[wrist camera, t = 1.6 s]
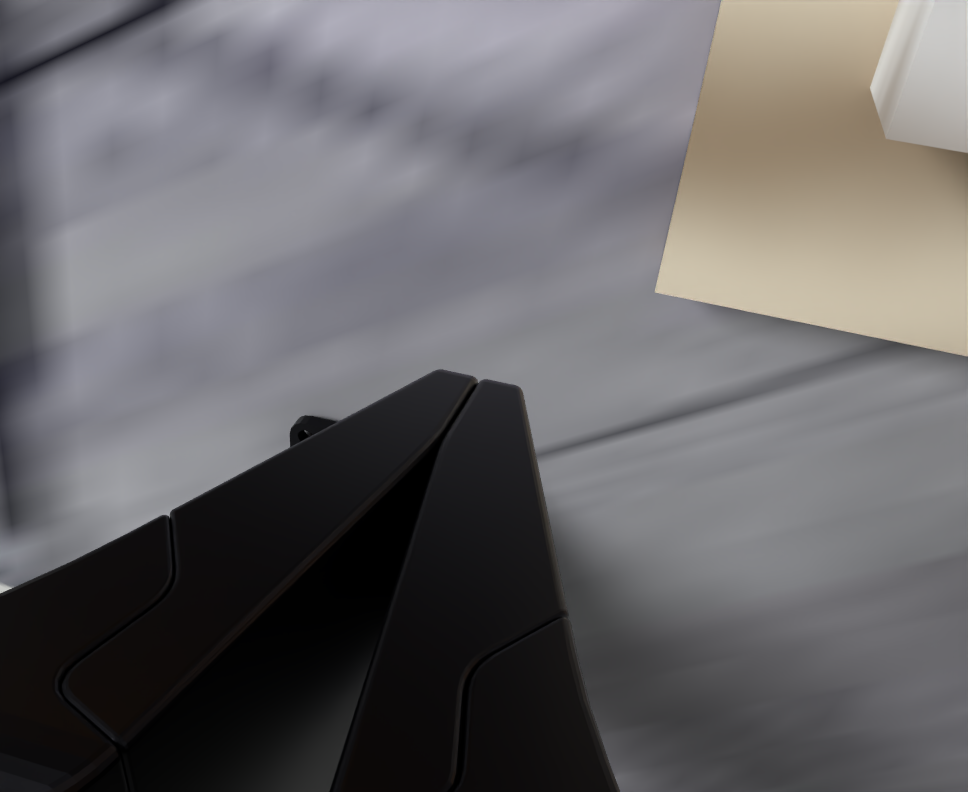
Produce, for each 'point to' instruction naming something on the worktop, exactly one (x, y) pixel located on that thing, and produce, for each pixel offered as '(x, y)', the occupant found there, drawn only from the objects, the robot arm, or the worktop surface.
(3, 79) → the worktop surface
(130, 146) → the worktop surface
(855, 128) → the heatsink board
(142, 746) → the robot arm
